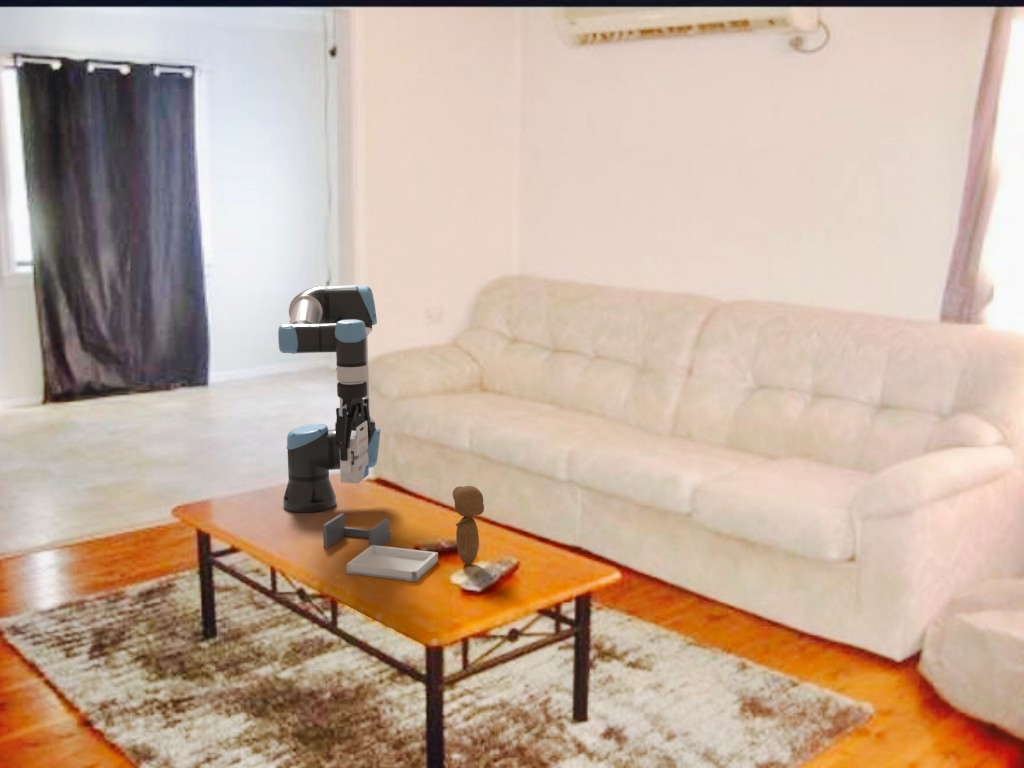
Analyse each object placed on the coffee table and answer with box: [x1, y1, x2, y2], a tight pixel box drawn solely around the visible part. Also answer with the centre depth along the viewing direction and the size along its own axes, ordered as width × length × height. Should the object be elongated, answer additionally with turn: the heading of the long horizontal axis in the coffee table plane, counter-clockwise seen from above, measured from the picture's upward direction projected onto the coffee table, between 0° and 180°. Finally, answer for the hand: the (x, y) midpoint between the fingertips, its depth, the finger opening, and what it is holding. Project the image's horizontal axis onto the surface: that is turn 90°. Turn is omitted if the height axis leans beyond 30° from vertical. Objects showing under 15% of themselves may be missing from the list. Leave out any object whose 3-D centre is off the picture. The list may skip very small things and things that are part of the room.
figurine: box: [452, 485, 485, 566], centre depth 253 cm, size 9×7×20 cm
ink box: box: [339, 420, 370, 484], centre depth 265 cm, size 9×5×15 cm, turn 168°
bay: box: [322, 513, 392, 549], centre depth 269 cm, size 11×14×6 cm
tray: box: [346, 545, 439, 582], centre depth 253 cm, size 14×18×2 cm
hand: (354, 467), depth 266 cm, fingers closed on ink box, 9 cm apart
